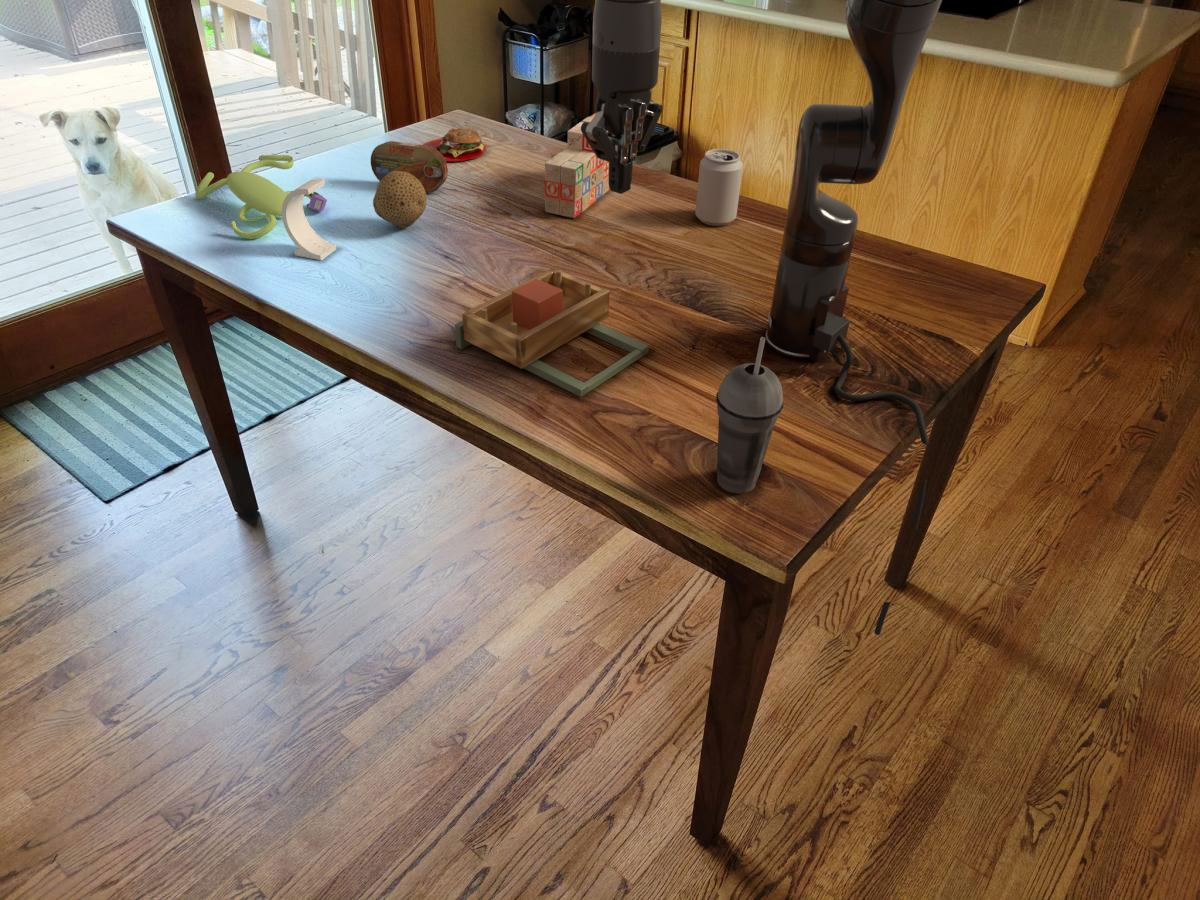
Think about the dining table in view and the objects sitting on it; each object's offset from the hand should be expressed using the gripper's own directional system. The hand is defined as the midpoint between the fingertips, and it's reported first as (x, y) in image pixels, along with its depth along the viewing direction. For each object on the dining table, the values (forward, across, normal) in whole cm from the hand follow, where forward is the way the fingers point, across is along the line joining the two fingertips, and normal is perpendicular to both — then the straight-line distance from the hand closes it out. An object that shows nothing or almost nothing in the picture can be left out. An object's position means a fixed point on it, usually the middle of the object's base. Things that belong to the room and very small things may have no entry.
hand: (619, 190), depth 108 cm
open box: (+22, -4, +11) cm, 25 cm away
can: (+24, +48, +15) cm, 56 cm away
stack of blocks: (+24, +40, +39) cm, 61 cm away
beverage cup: (+24, -12, -28) cm, 39 cm away
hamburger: (+25, +38, +75) cm, 88 cm away
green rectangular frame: (+24, -4, +7) cm, 25 cm away
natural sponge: (+24, +6, +53) cm, 59 cm away
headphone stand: (+24, -10, +57) cm, 62 cm away
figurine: (+24, -4, +79) cm, 83 cm away
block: (+21, -4, +10) cm, 24 cm away
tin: (+25, +20, +66) cm, 73 cm away
